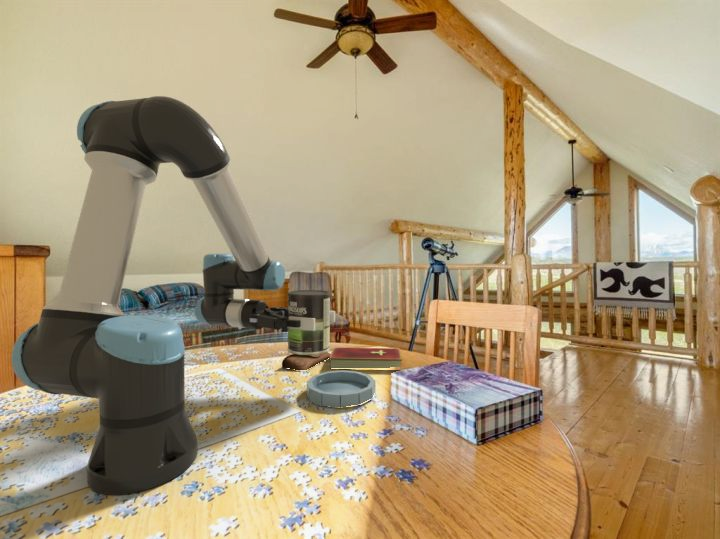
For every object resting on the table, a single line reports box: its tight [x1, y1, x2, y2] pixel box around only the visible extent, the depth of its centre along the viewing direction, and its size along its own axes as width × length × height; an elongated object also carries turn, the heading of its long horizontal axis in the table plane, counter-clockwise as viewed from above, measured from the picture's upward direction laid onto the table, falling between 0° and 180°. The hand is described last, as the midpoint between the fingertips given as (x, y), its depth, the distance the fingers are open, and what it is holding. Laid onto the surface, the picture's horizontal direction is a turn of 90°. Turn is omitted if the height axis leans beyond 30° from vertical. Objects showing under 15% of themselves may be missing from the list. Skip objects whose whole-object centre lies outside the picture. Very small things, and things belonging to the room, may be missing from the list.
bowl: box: [306, 370, 376, 407], centre depth 87 cm, size 16×16×3 cm
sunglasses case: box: [281, 351, 331, 370], centre depth 112 cm, size 18×7×7 cm, turn 154°
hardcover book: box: [328, 346, 403, 368], centre depth 110 cm, size 12×21×4 cm, turn 87°
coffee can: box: [287, 289, 331, 355], centre depth 88 cm, size 10×10×14 cm
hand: (325, 320), depth 86 cm, fingers closed on coffee can, 10 cm apart
